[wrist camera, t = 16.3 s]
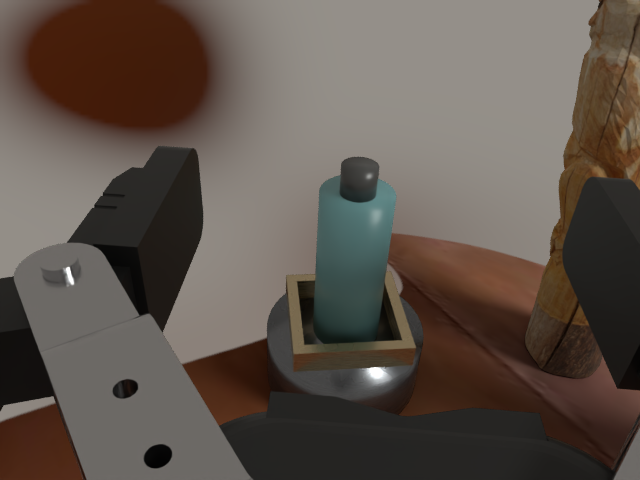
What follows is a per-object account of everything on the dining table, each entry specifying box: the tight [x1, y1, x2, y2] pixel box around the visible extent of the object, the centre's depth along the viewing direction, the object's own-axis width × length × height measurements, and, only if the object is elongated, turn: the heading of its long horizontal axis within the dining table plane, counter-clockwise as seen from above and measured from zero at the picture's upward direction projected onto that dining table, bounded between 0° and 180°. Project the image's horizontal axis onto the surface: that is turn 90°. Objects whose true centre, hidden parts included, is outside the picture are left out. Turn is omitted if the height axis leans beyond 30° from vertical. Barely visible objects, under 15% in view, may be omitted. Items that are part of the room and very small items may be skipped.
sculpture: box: [525, 0, 640, 378], centre depth 43 cm, size 7×9×30 cm
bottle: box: [313, 157, 396, 344], centre depth 41 cm, size 5×5×14 cm
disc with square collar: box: [267, 271, 423, 415], centre depth 46 cm, size 12×12×7 cm
